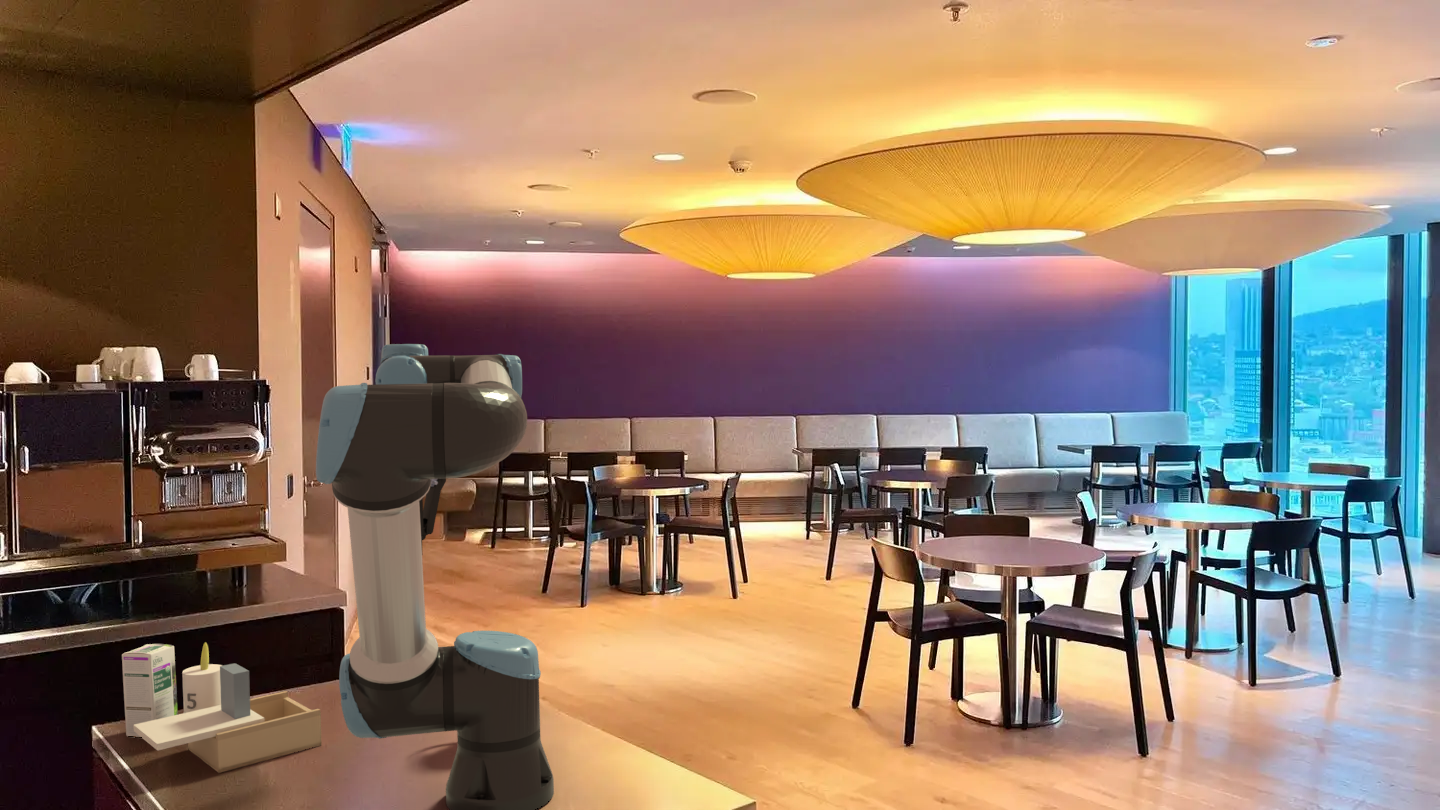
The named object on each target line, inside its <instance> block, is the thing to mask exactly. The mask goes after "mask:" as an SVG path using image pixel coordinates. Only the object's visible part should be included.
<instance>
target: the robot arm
mask: <svg viewBox="0 0 1440 810" xmlns="http://www.w3.org/2000/svg"><path fill="white" fill-rule="evenodd" d="M380 358H381V359H380V365H379V366H378V368H377V370H376V372H375V373H376V374H375V379H374V380H375V384H368V383H367V382H361V383H360V384H349V385H348V384H347V385H337V386H333V387H331V388H330V389H329V390H328V391H327V392H326V393H325V395H324V397H323V400H322V406H321V411H320V417H319V418H320V419H319V425H318V426H319V427H318V436H317V443H316V455H315V456H316V458H315V476H316V481H317V482H318V483H321V484H324V485H331V489H332V494H333V497H334V498H335V500H336V501H337V502H338V503H339V504H341V505H342V506H343V507H346V508H347V515H348V526H349V527H348V528H349V538H350V547H351V549H350V550H351V559H352V569H353V570H352V571H353V580H354V581H353V582H354V590H355V592H354V593H355V601H356V612H357V613H356V614H357V623H358V624H357V625H358V634H359V637H358V638H357V639H356V641H354V643H353V645H352V646H351V648H350V652H349V653H346V654H345V655H344V656H343V657H342V658H341V661H340V666H339V677H338V678H339V679H338V681H339V684H338V685H339V694H340V697H341V698H340V704H341V712H342V715H343V719H344V722H345V724H346V728H347V729H348V732H350V733H351V734H352V735H353V736H355V737H356V738H360V739H363V738H364V739H370V738H371V739H372V738H373V739H374V738H375V739H376V738H377V739H387V738H391V737H393V738H394V737H403V736H412V735H422V734H432V733H433V734H434V733H442V732H443V733H445V732H453V731H456V732H457V734H456V735H457V749H456V752H455V754H454V759H453V761H452V765H451V768H450V772H449V775H448V778H447V781H446V785H445V786H446V787H445V803H446V804H445V805H446V806H447V808H448V810H535V809H536V810H538V809H540V808H542V807H543V806H545V805H546V804H548V803H549V802H550V801H551V800H552V799H553V797H554V792H555V791H554V790H555V789H554V788H555V786H554V785H555V784H554V782H555V781H554V774H553V772H552V768H551V766H550V763H549V761H548V760H549V759H548V758H547V754H546V752H545V749H544V746H543V743H542V740H541V711H540V678H541V670H540V664H539V662H540V661H539V651H538V648H537V646H536V644H535V643H534V642H533V641H532V640H530V639H529V638H527V637H525V636H522V635H519V634H516V633H512V632H506V631H500V630H498V631H497V630H474V631H472V632H471V631H465V632H463V633H460V634H459V635H457V636H456V637H455V640H454V641H453V645H451V646H450V645H448V646H447V645H446V646H439V642H438V641H437V637H435V635H434V634H433V633H432V631H430V630H429V629H427V622H426V604H425V587H424V585H425V583H424V567H423V541H424V540H425V539H426V536H428V535H432V534H433V533H434V529H435V523H436V519H437V513H438V507H439V502H440V498H441V492H442V490H443V488H444V485H445V483H446V482H447V479H457V478H463V477H467V476H472V475H475V474H478V473H480V472H483V471H486V470H487V469H490V468H492V467H493V466H495V465H497V464H499V463H500V462H502V461H503V460H505V459H506V458H507V457H509V456H510V455H511V454H512V453H513V452H514V451H515V450H516V449H517V447H518V446H519V445H520V444H521V443H522V440H523V439H524V436H525V435H526V431H527V428H528V412H527V409H526V405H525V404H524V401H523V399H522V394H523V368H522V361H521V359H520V357H519V356H518V355H513V354H512V355H510V354H502V353H497V354H482V355H481V354H480V355H477V354H475V355H474V354H473V355H429V348H428V347H427V346H426V345H425V344H421V343H420V344H419V343H402V344H400V343H396V344H395V343H391V344H385V345H383V346H382V348H381V355H380ZM424 498H425V500H424ZM423 500H424V501H423ZM423 503H424V504H423ZM550 799H551V800H550ZM548 801H549V802H548ZM541 806H542V807H541ZM537 808H538V809H537Z"/></svg>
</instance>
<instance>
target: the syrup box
mask: <svg viewBox="0 0 1440 810" xmlns="http://www.w3.org/2000/svg"><path fill="white" fill-rule="evenodd" d="M175 654H176V653H175V646H174V645H172V644H167V643H166V644H164V643H152V644H151V643H149V644H148V643H147V644H144V645H143V646H141V647H138V648H135V649H131V650H130V651H127V652H124V653H122V654H121V661H122V664H121V665H122V683H123V701H124V717H125V735H126V737H128V736H136V737H140V736H139V735H138V734H137V733H136V732H134V724H139V723H143V722H148V721H152V720H156V719H161V718H165V717H170V716H174V715H178V714H179V712H178V697H177V696H178V694H177V692H178V691H177V675H176V661H175V660H176V656H175Z"/></svg>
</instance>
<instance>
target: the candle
mask: <svg viewBox="0 0 1440 810" xmlns="http://www.w3.org/2000/svg"><path fill="white" fill-rule="evenodd" d="M209 653H210V651H209V644H208V643H207V642H206V641H205V642H204V643H203V646H202V651H201V655H200V656H201V657H200V664H199V665H194V666H191V667H188V668H185V669H183V670H182V673H181V674H182V697H183V699H182V700H183V713H187V712H192V711H196V710H200V709H205V708H209V707H214V706H218V705H221V687H220V666H223V664H213V663H210V657H209V656H210V654H209Z"/></svg>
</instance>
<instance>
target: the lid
mask: <svg viewBox="0 0 1440 810" xmlns="http://www.w3.org/2000/svg"><path fill="white" fill-rule="evenodd" d="M220 687H221V705H218V706H214V707H209V708H205V709H200V710H196V711H192V712H187V713H184V712H183V713H178V715H174V716H170V717H165V718H161V719H156V720H152V721H148V722H143V723H139V724H134V732H136V733H137V734H138V735H139V736H140V737H142V738H141V739H142V740H144V741H145V742H147V744H149V745H150V746H151V747H153V749H155V750H156V751H162V750H165V749H169V748H174V747H178V746H181V745H182V746H183V745H186V744H187V745H188V743H191V742H195V741H199V740H203V739H207V738H211V737H215V736H216V734H217V733H221V732H225V731H229V730H233V729H237V728H241V727H245V726H249V725H253V724H258V723H262V722H265V718H264V717H262V716H260V715H259V714H257V713H256V712H254V711H252V710H251V709H250V699H251V696H250V693H251V692H250V691H251V689H250V670H248V669H246V668H245V667H243V666H241V665H239V664H237V663H229V664H224V665H222V666H220Z"/></svg>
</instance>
